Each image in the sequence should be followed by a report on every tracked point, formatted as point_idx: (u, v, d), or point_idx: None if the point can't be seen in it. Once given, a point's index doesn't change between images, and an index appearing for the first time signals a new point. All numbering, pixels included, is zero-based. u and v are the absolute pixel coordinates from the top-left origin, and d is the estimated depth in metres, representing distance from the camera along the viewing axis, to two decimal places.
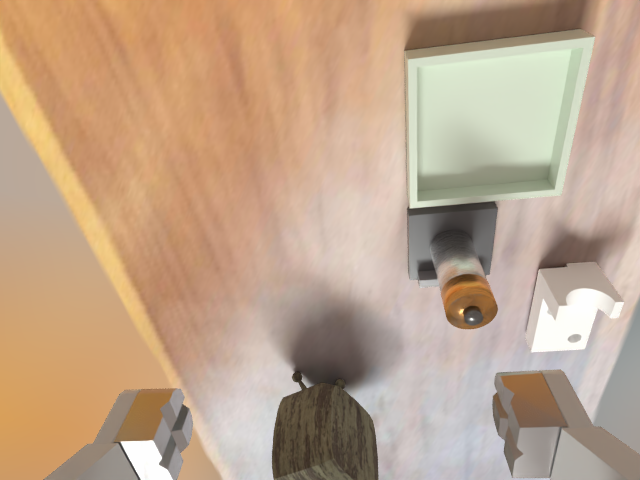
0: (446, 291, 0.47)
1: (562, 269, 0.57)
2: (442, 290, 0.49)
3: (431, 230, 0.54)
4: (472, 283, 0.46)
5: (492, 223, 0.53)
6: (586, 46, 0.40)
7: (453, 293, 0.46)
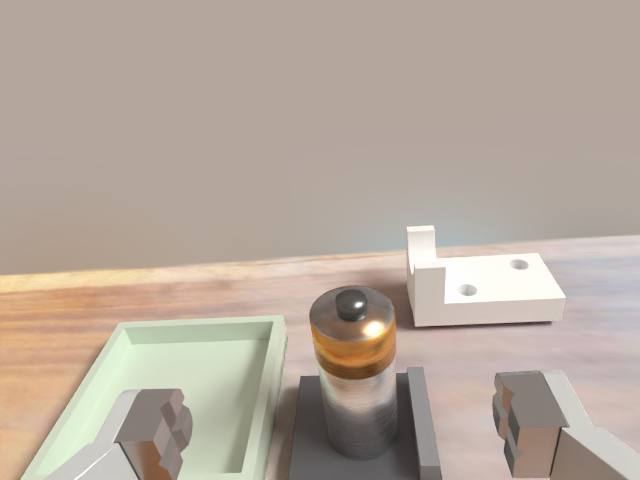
0: (332, 362, 0.26)
1: (411, 304, 0.44)
2: (344, 376, 0.27)
3: (324, 459, 0.31)
4: None
5: None
6: (125, 326, 0.43)
7: (321, 345, 0.26)
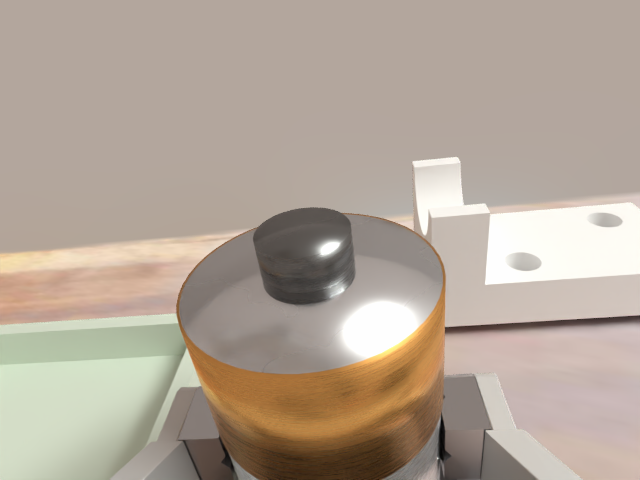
0: (244, 441, 0.08)
1: None
2: None
3: None
4: None
5: None
6: None
7: (207, 383, 0.08)
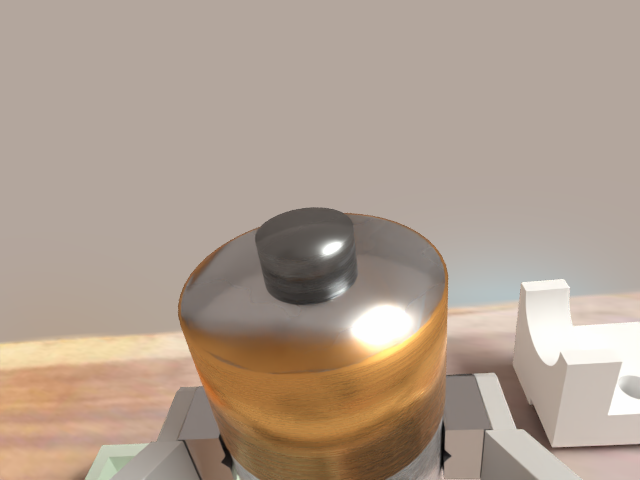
0: (246, 441, 0.08)
1: (536, 404, 0.28)
2: None
3: None
4: None
5: None
6: (111, 454, 0.27)
7: (208, 384, 0.08)
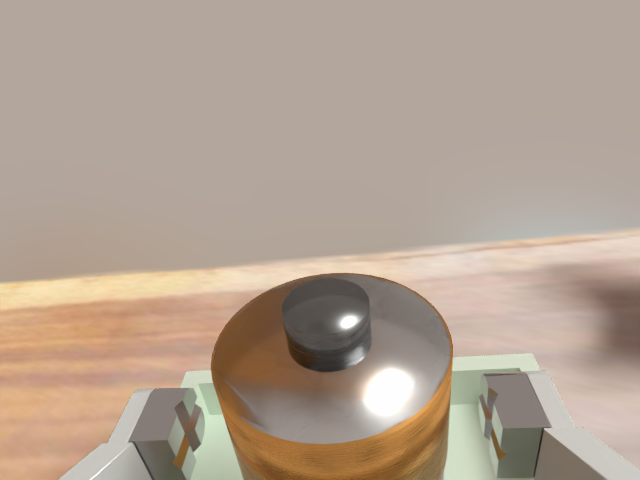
0: None
1: None
2: None
3: None
4: None
5: None
6: (200, 381, 0.21)
7: (238, 441, 0.09)
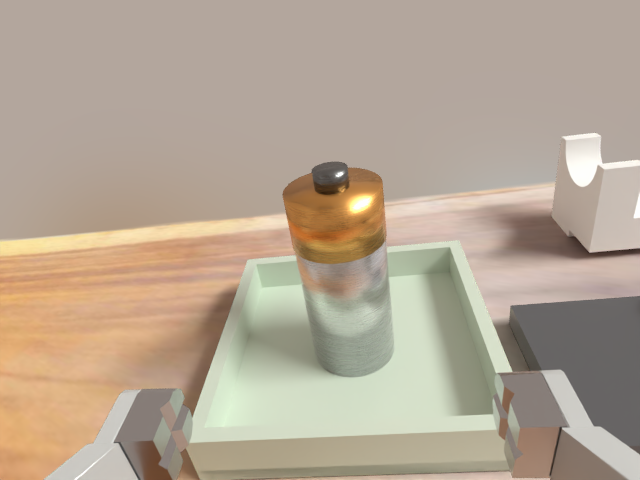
0: (310, 243, 0.22)
1: (574, 230, 0.36)
2: (325, 260, 0.23)
3: (606, 397, 0.22)
4: None
5: (547, 307, 0.28)
6: (257, 263, 0.35)
7: (296, 223, 0.22)
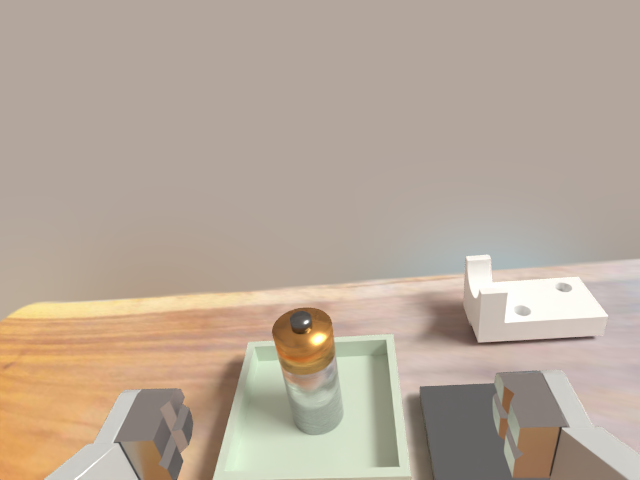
0: (287, 363, 0.38)
1: (472, 323, 0.52)
2: (296, 372, 0.38)
3: (460, 455, 0.38)
4: None
5: (441, 388, 0.44)
6: (255, 345, 0.50)
7: (280, 351, 0.38)
